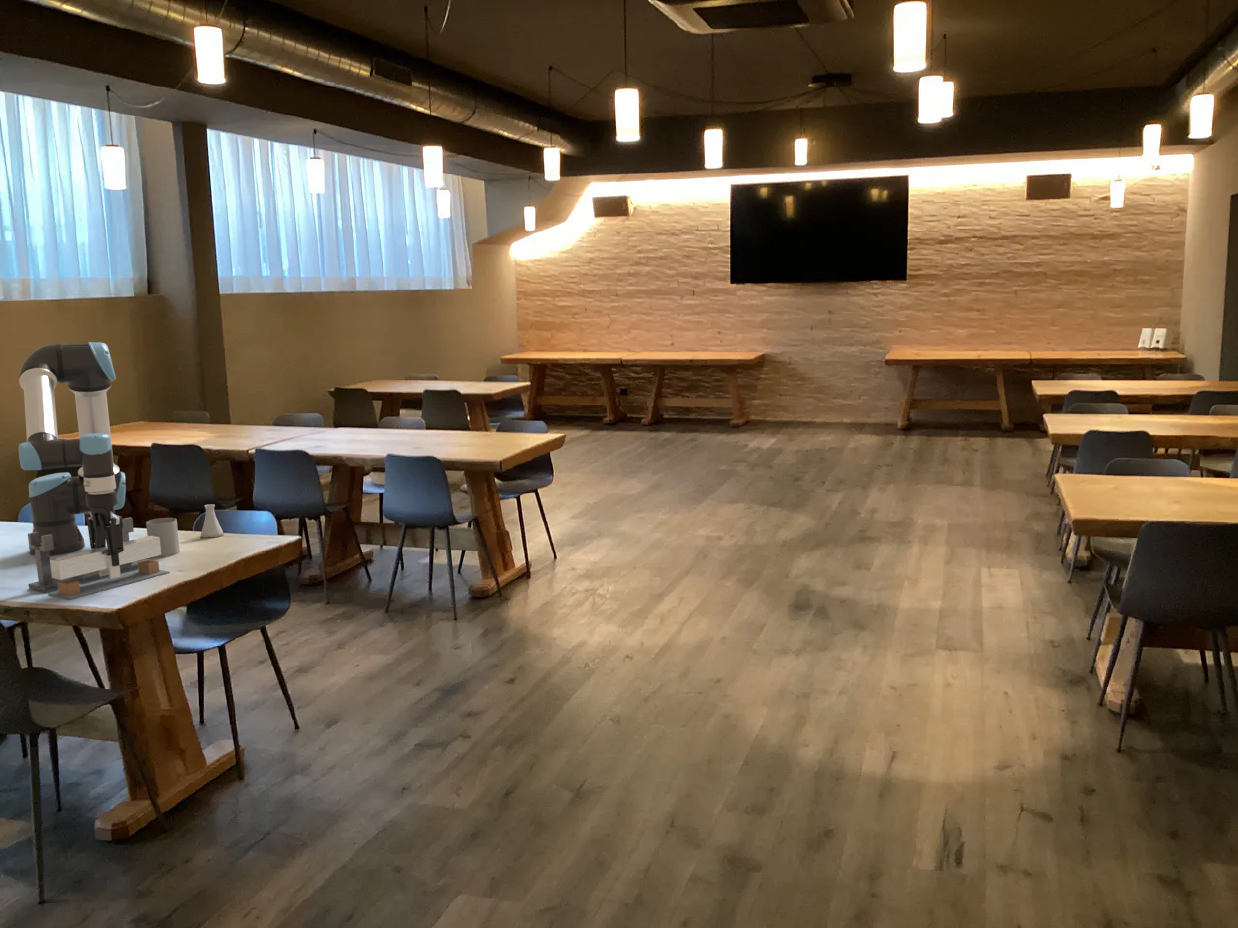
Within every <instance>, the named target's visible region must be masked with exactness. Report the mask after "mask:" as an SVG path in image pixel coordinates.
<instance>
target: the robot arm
mask: <svg viewBox="0 0 1238 928" xmlns="http://www.w3.org/2000/svg"><path fill="white" fill-rule="evenodd" d="M18 373H19V374H18V383H19V386H20V388H21V389H22V390H23V395H24V396H23V400H24V415H25V417H24V418H25V428H26V430H25V431H26V441H25V442H20V443H19V444H18V458H19V464H20V469H22V470H23V471H42V470H52V469H61V468H74V467H80V468H79V469H78V470H77V475H78V476H72V475H71V473H70V472H65V471H64V472H56V473H52V474H46V475H43V476H39V477H36V478H34V479H33V480H31V481H30V482H29V484H28V493H29V494H28V498H29V500H30V510H31V518H32V519H31V520H32V532H31V533H33V532H39V536H40V543H42V541H41V536H44V535H49V534H51V535H52V536H53V544H54V550H50V551H49V555H50V556H56V555H63V554H68V553H74V552H76V551H77V552H78V551H80V550H82V549H84V548H85V546H86V545H85V539H84V537H83V534H82V532H81V530H80V528H79V526H78V525H77V522H76V515H82V514H84V517H85V519H86V523H87V529H88V531H87V532H88V537H89V538H88V539H89V545H90V546H89V547H90V550H92V549H96V548H101V547H105V546H107V547H108V551H109V553H107V558H108V568H106V569H102V570H99V576H105V575H109V577H110V579H112V578H116V577H120V576H121V575H120V566H119V564H120V563H119V553H120V552H123V551H124V548H123V536H122V526H123V524H122V519H123V516H120V515H119V517H117V516H116V515H117V514H116V511H115V510H120V509H122V508H123V507H124V506H125V502H126V474H125V472H123V471H120V469H121V468H120V467H119V466H118V465H117V464H115V463H114V454H113V444H112V436H111V426H110V425H111V424H110V415H109V406H108V405H109V404H108V397H107V392H108V391H109V389H111V387H112V382H113V381H116V377H117V376H116V373H115V370H114V366H113V360H112V358H111V354H110V349H109V347H108V345H107V344H106V343H104V342H98V341H97V342H94V341H93V342H91V341H86V342H70V343H49V344H44V345H41V346H40V347H38V348H36V349H35V350H33V351H32V352H31V353H30V354H29V355H28V356H27V357H26V358H25V360H24V361H23V362H22V364H21V366H20V369H19V372H18ZM58 384H61V385H62V384H67V388H68V390H69V391H70V392H71V393H73V394H74V399H75V409H76V418H77V427H78V435H79V436H78V437H79V438H69V439H59V434H58V423H57V411H56V400H55V399H56V398H55V389H56V387H57V385H58ZM110 525H111V526H110ZM28 549H29V555H32V556H36V555H35V549H30V548H29V547H28ZM109 577H108V578H109Z"/></svg>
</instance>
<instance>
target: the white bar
mask: <svg viewBox="0 0 1238 928" xmlns="http://www.w3.org/2000/svg"><path fill="white" fill-rule="evenodd" d="M123 548H124V551H123V552H120V553H119V563H120V564H119V565H122V564H126V563H130V562H139V561H143V560H147V559H149V558H155V557H154V556H158V555H161V546H160V537H155V536H144V537H140V538H136V539H135V538H134V539H131V540H129V541H126V542H123ZM107 553H109V551H108V547H107V545H106V546H105V547H101V548H96V549H89V550H84V551H79V552H76V553H71V554H67V555H63V556H59V557H54V558H50V565H51V574H52V578H54V579H58V580H63V579H67V578H71V577H75V576H79V575H83V574H86V573H90V572H94V571H98V570H102V569H106V568H108V558H107Z"/></svg>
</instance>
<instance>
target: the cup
mask: <svg viewBox="0 0 1238 928" xmlns="http://www.w3.org/2000/svg"><path fill="white" fill-rule="evenodd" d="M145 525H146V535H147V536H146V537H148V536H155V537H160V546H161V555H158V556H154V557H153V558H164V557H170V556H175V555H177V554H179V553H180V552H181V551H180V542H179V541H180V539H179V530H178V529H179V528H178V521H177V518H173V517H164V518H154V519H151V520H148V521H146V523H145Z"/></svg>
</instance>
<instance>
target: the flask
mask: <svg viewBox="0 0 1238 928" xmlns="http://www.w3.org/2000/svg"><path fill="white" fill-rule="evenodd" d="M203 507H204V508H205V515H204V516H205V517H204V522H203V525H202V529H201V534H200V538H209V537H210V538H216V537H221V536H223V535H224V532H223V529H222V527H221V525H220V523H219V520H218V519H217V516H216V513H215V507H216V506H215V504H212V503H211V504H205V505H204V506H203Z"/></svg>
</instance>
